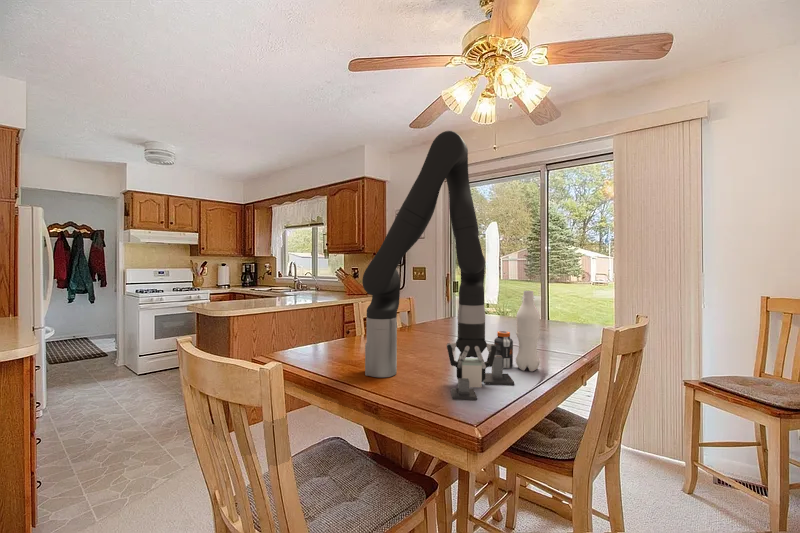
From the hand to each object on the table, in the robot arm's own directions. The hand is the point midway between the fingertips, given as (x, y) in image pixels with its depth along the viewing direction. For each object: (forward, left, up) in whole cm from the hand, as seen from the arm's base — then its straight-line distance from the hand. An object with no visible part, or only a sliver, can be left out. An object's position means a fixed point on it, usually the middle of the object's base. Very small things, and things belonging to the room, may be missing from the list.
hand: (470, 380), depth 105 cm
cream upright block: (0, 0, -1) cm, 1 cm away
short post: (-3, -9, -1) cm, 10 cm away
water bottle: (+20, +16, -1) cm, 26 cm away
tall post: (+8, +4, -1) cm, 9 cm away
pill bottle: (+13, +19, -1) cm, 23 cm away
